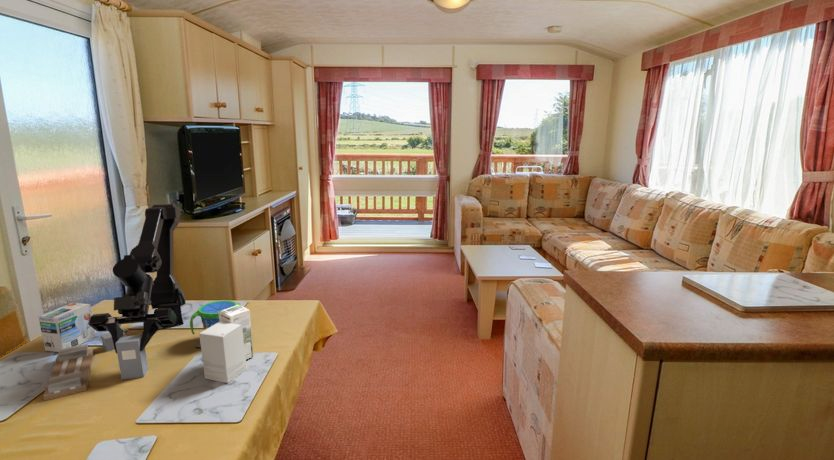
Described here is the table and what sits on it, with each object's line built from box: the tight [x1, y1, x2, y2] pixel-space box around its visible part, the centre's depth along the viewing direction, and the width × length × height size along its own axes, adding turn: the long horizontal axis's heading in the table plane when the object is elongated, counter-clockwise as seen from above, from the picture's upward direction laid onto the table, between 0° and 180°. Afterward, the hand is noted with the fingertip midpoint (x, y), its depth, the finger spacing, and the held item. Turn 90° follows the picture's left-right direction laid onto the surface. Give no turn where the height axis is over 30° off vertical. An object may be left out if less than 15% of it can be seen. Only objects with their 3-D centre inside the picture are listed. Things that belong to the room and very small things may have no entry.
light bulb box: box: [38, 302, 96, 353], centre depth 129 cm, size 11×7×11 cm, turn 168°
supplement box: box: [198, 322, 248, 384], centre depth 113 cm, size 7×7×13 cm
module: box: [115, 334, 149, 380], centre depth 113 cm, size 4×5×10 cm
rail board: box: [43, 343, 95, 401], centre depth 114 cm, size 22×8×3 cm, turn 32°
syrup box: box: [218, 304, 254, 361], centre depth 120 cm, size 6×6×14 cm
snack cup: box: [189, 300, 242, 335], centre depth 132 cm, size 16×11×10 cm
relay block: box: [100, 332, 126, 353], centre depth 128 cm, size 5×4×4 cm
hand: (129, 351), depth 111 cm, fingers closed on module, 5 cm apart
